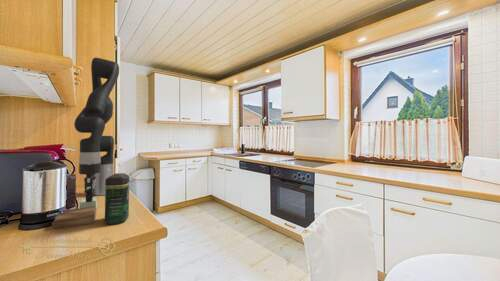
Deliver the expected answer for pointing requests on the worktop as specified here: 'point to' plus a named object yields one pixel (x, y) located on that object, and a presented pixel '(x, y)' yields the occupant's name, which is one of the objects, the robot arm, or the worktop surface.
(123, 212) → the coffee jar
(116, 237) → the worktop surface
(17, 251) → the worktop surface
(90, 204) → the sage cube
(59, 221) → the walnut base
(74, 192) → the supplement box
